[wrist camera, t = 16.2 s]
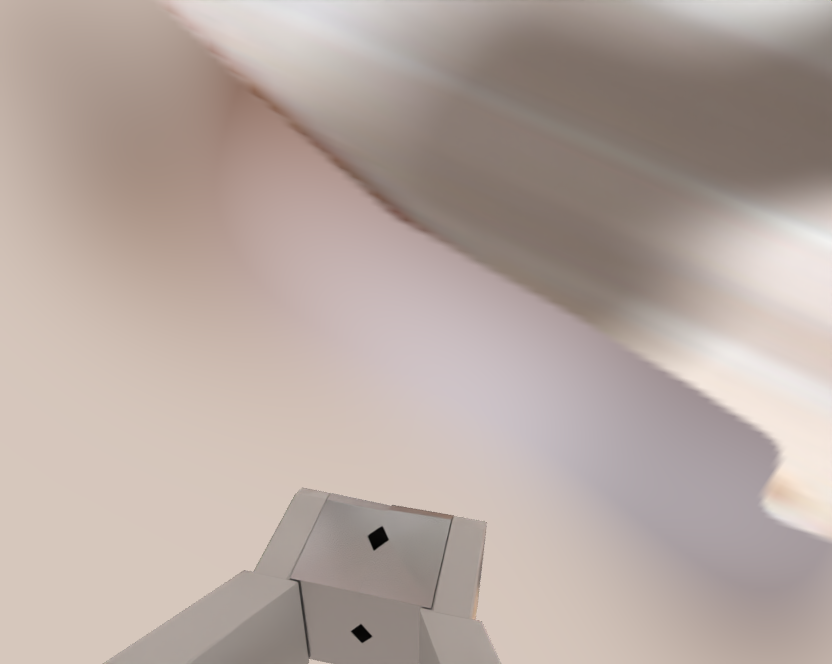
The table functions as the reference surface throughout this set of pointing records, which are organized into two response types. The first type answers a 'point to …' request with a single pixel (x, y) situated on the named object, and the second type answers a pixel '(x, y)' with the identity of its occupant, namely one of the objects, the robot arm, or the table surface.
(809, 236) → the table surface
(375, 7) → the table surface
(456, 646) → the robot arm
